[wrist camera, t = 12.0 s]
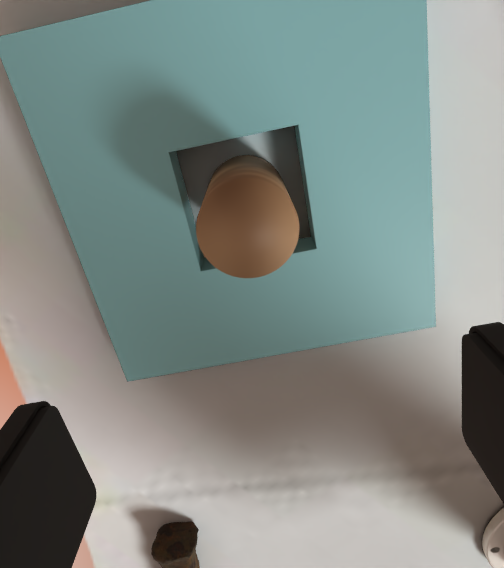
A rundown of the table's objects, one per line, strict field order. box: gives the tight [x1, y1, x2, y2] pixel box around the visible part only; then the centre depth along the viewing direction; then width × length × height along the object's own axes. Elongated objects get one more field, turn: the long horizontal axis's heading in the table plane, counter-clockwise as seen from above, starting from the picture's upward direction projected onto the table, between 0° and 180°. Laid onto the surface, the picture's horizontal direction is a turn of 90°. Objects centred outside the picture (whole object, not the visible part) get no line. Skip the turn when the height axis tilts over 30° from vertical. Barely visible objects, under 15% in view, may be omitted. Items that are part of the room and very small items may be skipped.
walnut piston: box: [196, 155, 299, 278], centre depth 25 cm, size 5×5×8 cm
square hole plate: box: [0, 0, 436, 382], centre depth 27 cm, size 22×22×2 cm
